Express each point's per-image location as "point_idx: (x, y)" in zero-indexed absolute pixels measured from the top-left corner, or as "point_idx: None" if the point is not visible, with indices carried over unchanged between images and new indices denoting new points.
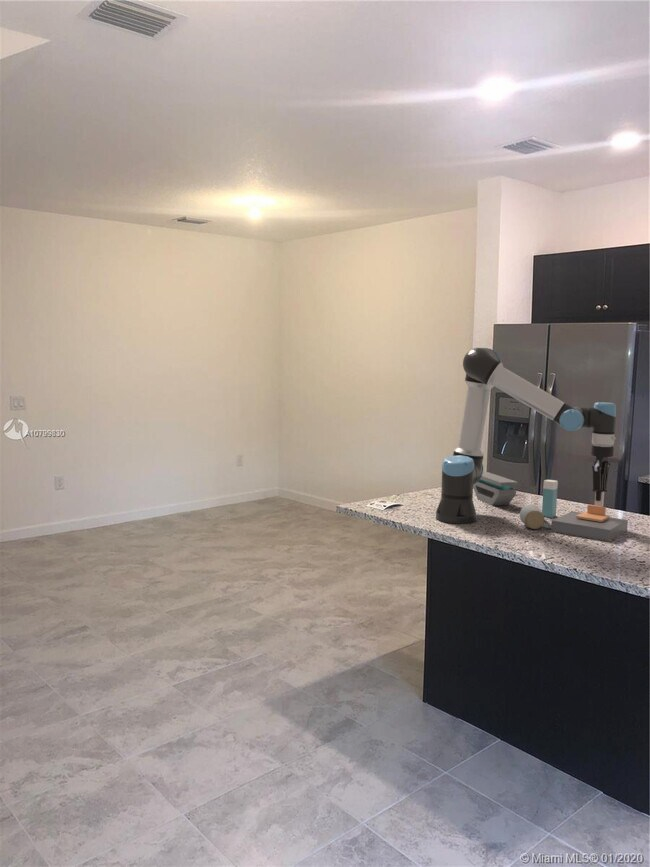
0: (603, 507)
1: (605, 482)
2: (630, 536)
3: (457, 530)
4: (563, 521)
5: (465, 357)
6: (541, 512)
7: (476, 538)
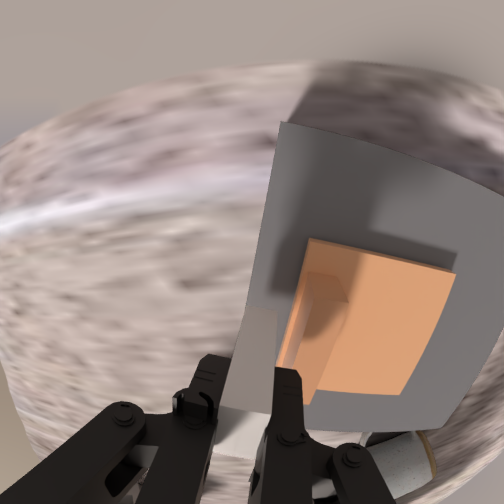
0: (346, 311)
1: (104, 473)
2: (396, 113)
3: (443, 487)
4: (454, 399)
5: None
6: (421, 468)
7: (493, 451)
